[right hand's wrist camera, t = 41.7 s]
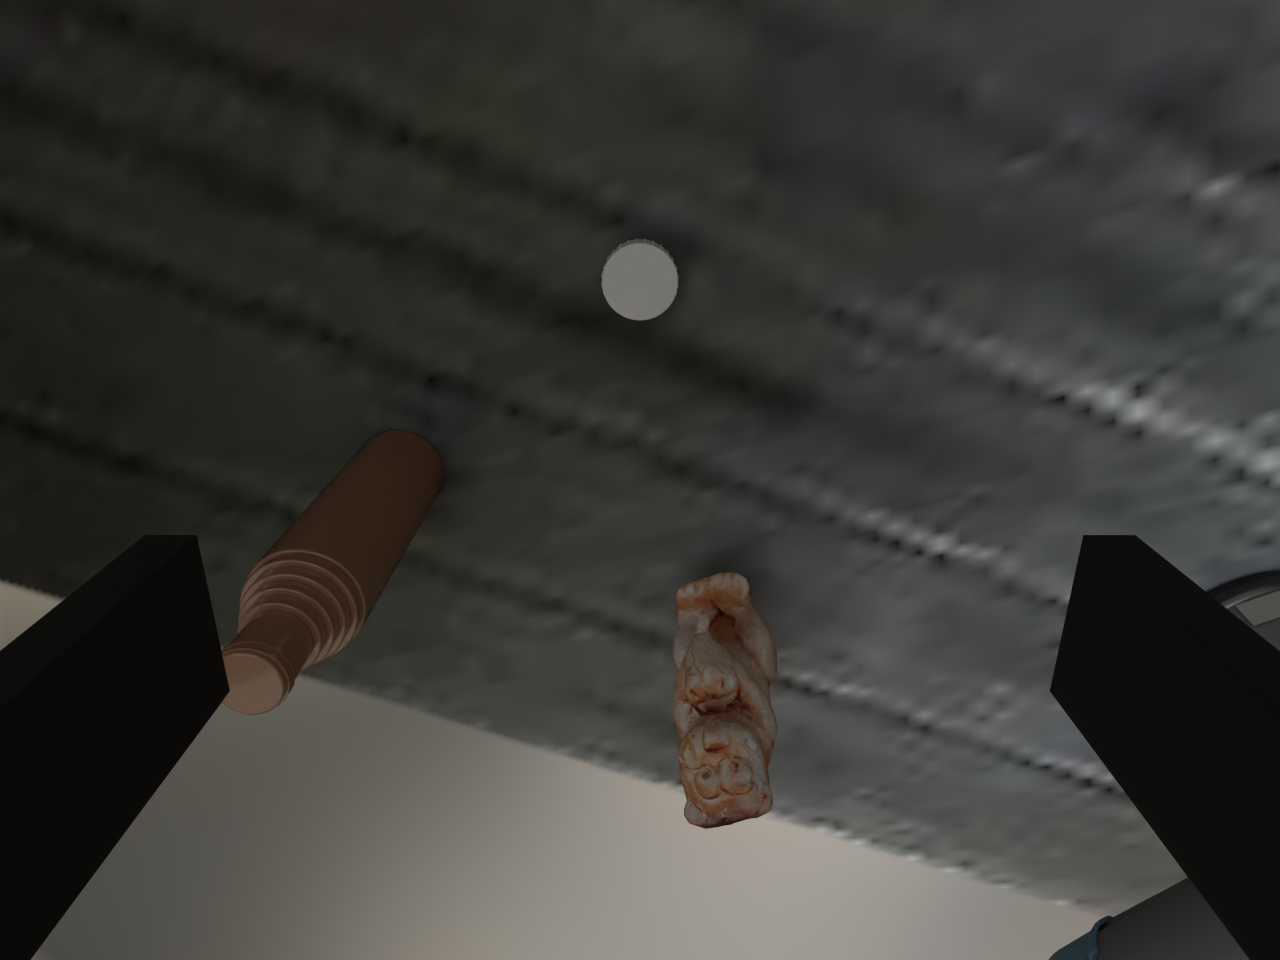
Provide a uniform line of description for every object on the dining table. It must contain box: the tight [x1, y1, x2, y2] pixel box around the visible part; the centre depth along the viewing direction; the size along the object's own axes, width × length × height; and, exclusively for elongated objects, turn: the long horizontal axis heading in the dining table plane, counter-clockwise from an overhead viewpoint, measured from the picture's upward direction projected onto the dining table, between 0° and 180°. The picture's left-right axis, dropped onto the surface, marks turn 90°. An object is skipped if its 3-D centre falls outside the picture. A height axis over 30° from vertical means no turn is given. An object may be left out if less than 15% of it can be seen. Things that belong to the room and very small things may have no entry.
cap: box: [601, 238, 679, 320], centre depth 43 cm, size 4×4×2 cm
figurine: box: [673, 572, 777, 828], centre depth 44 cm, size 6×8×15 cm
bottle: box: [221, 430, 444, 715], centre depth 39 cm, size 5×5×20 cm
